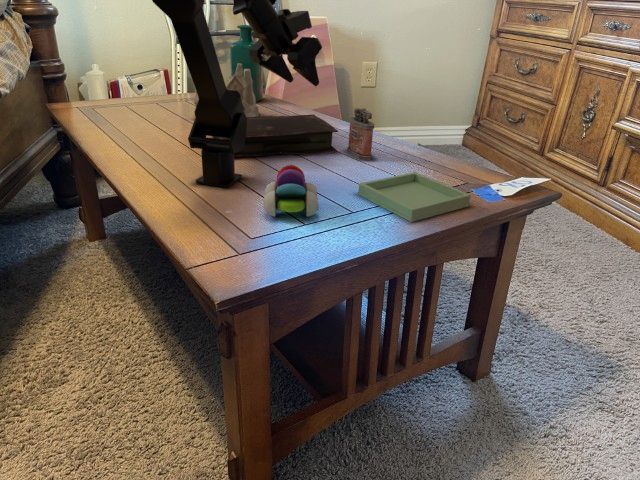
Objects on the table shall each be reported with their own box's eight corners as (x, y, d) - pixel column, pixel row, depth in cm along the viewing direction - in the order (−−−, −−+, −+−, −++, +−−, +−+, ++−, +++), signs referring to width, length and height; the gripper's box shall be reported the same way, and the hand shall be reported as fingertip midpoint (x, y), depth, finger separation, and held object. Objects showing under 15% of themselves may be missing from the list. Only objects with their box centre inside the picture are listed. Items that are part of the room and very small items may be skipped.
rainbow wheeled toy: (316, 199, 87) (317, 158, 84) (317, 223, 79) (319, 178, 75) (266, 198, 87) (266, 157, 84) (262, 222, 78) (262, 177, 75)
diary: (211, 137, 120) (210, 115, 118) (312, 132, 128) (313, 112, 126) (224, 160, 105) (223, 136, 102) (338, 153, 112) (339, 131, 110)
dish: (410, 222, 80) (412, 209, 80) (358, 194, 90) (358, 183, 90) (469, 206, 88) (471, 194, 87) (414, 182, 97) (415, 171, 97)
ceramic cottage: (266, 112, 144) (261, 57, 137) (244, 128, 130) (238, 67, 123) (215, 111, 148) (208, 56, 141) (189, 126, 134) (180, 66, 127)
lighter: (343, 150, 115) (346, 105, 110) (357, 149, 116) (360, 104, 112) (361, 161, 108) (364, 113, 104) (375, 159, 110) (379, 112, 105)
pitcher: (229, 101, 158) (226, 24, 148) (239, 96, 165) (237, 22, 155) (259, 103, 156) (258, 26, 146) (268, 99, 163) (268, 24, 154)
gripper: (319, -10, 94) (356, 59, 104) (264, -6, 107) (302, 55, 117) (280, 31, 91) (322, 97, 101) (229, 30, 105) (271, 88, 115)
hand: (304, 82), depth 109 cm, fingers open, 9 cm apart
